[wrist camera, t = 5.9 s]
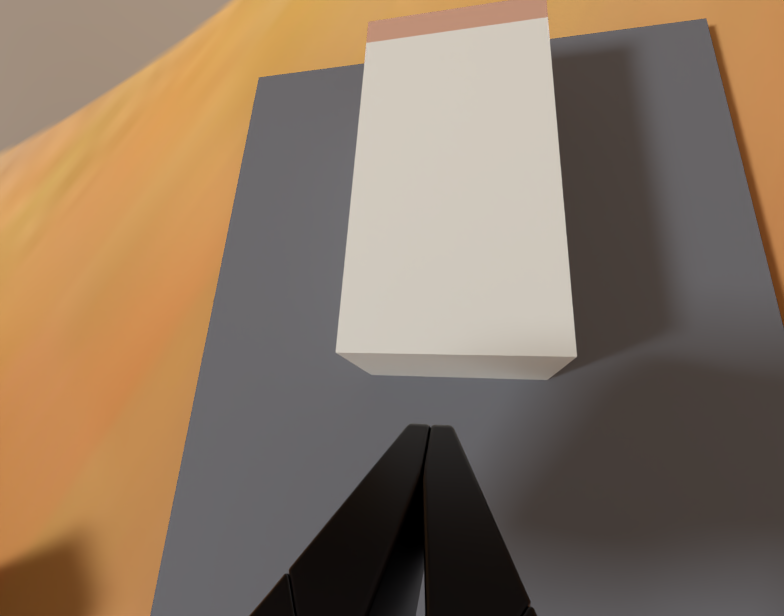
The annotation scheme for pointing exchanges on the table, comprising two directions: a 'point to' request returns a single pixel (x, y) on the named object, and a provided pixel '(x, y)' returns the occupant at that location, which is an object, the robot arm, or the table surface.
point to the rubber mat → (511, 396)
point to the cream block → (458, 201)
